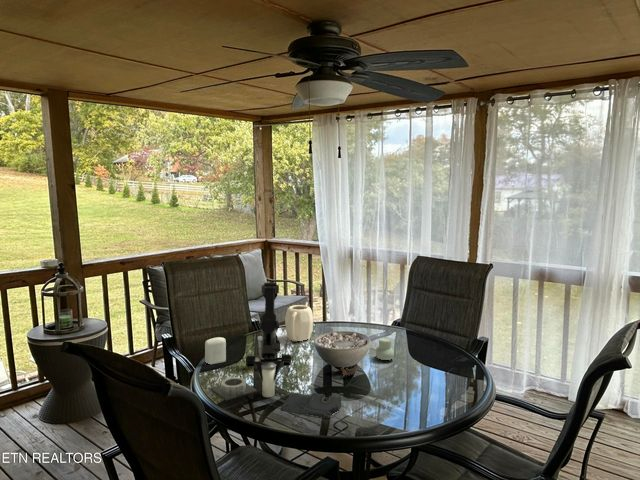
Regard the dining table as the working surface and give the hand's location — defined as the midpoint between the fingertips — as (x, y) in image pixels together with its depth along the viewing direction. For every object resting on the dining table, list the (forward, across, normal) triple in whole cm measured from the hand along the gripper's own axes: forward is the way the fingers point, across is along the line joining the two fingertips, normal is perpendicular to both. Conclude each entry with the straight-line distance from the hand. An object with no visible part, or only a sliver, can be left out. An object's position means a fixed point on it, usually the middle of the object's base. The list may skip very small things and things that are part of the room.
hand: (268, 380), depth 179 cm
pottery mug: (-10, +34, +20) cm, 41 cm away
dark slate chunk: (+12, +17, -2) cm, 21 cm away
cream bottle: (+4, 0, +6) cm, 7 cm away
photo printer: (-23, -27, +33) cm, 48 cm away
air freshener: (-22, +57, +32) cm, 69 cm away
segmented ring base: (0, -14, +9) cm, 17 cm away
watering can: (-48, +16, +57) cm, 76 cm away
